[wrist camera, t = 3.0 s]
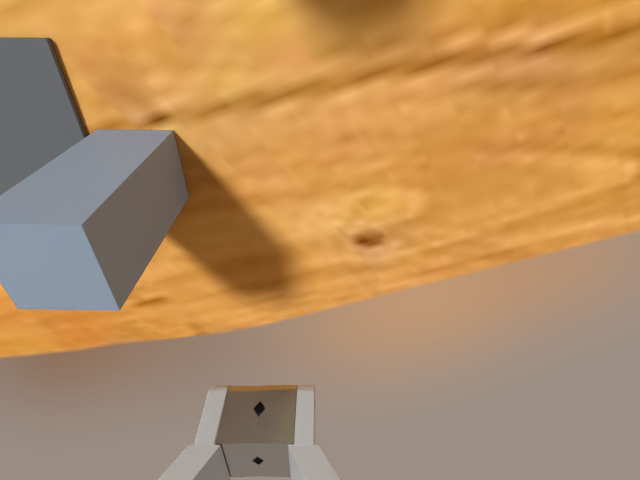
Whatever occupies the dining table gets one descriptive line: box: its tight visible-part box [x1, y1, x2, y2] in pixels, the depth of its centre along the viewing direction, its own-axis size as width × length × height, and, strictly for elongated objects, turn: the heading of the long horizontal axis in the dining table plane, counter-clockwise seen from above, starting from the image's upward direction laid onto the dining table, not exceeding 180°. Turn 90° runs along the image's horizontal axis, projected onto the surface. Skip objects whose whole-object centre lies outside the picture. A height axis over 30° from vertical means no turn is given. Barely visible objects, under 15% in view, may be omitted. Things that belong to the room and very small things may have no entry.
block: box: [0, 129, 189, 311], centre depth 19 cm, size 4×4×10 cm
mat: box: [0, 38, 87, 196], centre depth 23 cm, size 12×14×1 cm
